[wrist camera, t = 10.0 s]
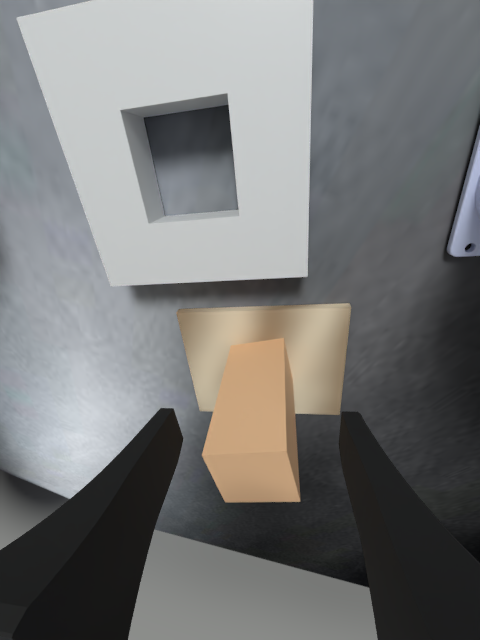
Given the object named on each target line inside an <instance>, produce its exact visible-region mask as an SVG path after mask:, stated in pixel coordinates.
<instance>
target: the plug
mask: <svg viewBox="0 0 480 640" xmlns="http://www.w3.org/2000/svg"><path fill="white" fill-rule="evenodd" d="M202 457H203V459H204V461H205V463H206V465H207V467H208V469H209V471H210V473H211V475H212V477H213V479H214V481H215V483H216V485H217V487H218V489H219V491H220V493H221V495H222V497H223V499H224V501H225V502H300V486H299V470H298V454H297V438H296V421H295V405H294V389H293V378H292V373H291V369H290V364H289V359H288V355H287V350H286V345H285V341H284V338H280V339H273V340H266V341H259V342H252V343H245V344H238V345H231V347H230V351H229V354H228V358H227V362H226V366H225V370H224V373H223V377H222V381H221V385H220V389H219V392H218V396H217V400H216V404H215V407H214V411H213V415H212V419H211V423H210V426H209V430H208V434H207V438H206V441H205V445H204V449H203V453H202Z"/></svg>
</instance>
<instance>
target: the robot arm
mask: <svg viewBox="0 0 480 640" xmlns="http://www.w3.org/2000/svg"><path fill="white" fill-rule="evenodd" d="M470 243H471V247H470V248H469V249H468V250H465V247H466V246H467V245H468V244H470ZM447 252H448V253H449V254H450V255H452V256H454V257H466V256H480V126H479V130H478V134H477V137H476V141H475V145H474V149H473V152H472V156H471V160H470V164H469V167H468V171H467V175H466V179H465V182H464V186H463V190H462V194H461V197H460V201H459V205H458V209H457V212H456V216H455V220H454V224H453V227H452V231H451V235H450V239H449V242H448V246H447ZM182 442H183V436H182V433H181V430H180V427H179V424H178V421H177V418H176V415H175V412H174V409H172V408H161V409H160V410H159V411H158V412H157V413H156V414H155V415H154V416H153V417H152V418H151V420H150V421H149V422H148V423H147V424H146V425H145V426H144V427H143V429H142V430H141V431H140V432H139V433H138V434H137V435H136V436H135V437H134V438H133V440H132V441H131V442H130V443H129V444H128V445H127V446H126V447H125V448H124V449H123V450H122V451H121V452H120V453H119V454H118V455H117V456H116V457H115V458H114V459H113V460H112V461H111V462H110V463H109V464H108V465H107V466H106V467H105V468H104V469H103V470H102V471H101V472H100V473H99V474H98V475H97V476H96V477H95V478H94V479H93V480H92V481H91V482H89V483H88V484H87V485H86V486H85V487H84V488H83V489H82V490H80V491H79V492H78V493H77V494H76V495H75V496H73V497H72V498H71V499H70V500H68V501H67V502H66V503H65V504H63V505H62V506H61V507H60V508H58V509H57V510H56V511H55V512H53V513H52V514H51V515H50V516H48V517H47V518H46V519H44V520H43V521H42V522H40V523H39V524H37V525H36V526H35V527H33V528H32V529H31V530H29V531H28V532H26V533H25V534H24V535H22V536H21V537H19V538H18V539H16V540H15V541H13V542H12V543H10V544H9V545H7V546H6V547H4V548H3V549H1V550H0V640H128V636H129V630H130V626H131V620H132V616H133V612H134V608H135V603H136V599H137V594H138V590H139V585H140V582H141V577H142V574H143V569H144V565H145V561H146V557H147V554H148V550H149V546H150V543H151V539H152V535H153V531H154V528H155V525H156V522H157V519H158V516H159V513H160V510H161V507H162V505H163V502H164V499H165V497H166V494H167V491H168V488H169V486H170V483H171V480H172V477H173V474H174V472H175V469H176V466H177V463H178V459H179V455H180V451H181V447H182ZM339 449H340V456H341V462H342V469H343V474H344V477H345V481H346V485H347V489H348V493H349V497H350V501H351V505H352V508H353V512H354V516H355V520H356V524H357V527H358V531H359V535H360V540H361V544H362V549H363V554H364V560H365V565H366V571H367V577H368V582H369V588H370V594H371V600H372V606H373V612H374V618H375V624H376V630H377V637H378V640H480V563H479V562H478V561H477V560H476V559H475V558H474V557H473V556H472V555H471V554H470V553H469V552H468V551H467V550H466V549H465V548H464V547H463V546H462V545H461V544H460V543H459V542H458V540H457V539H456V538H455V537H454V536H453V535H452V534H451V533H450V532H449V531H448V530H447V529H446V528H445V526H444V525H443V524H442V523H441V522H440V521H439V520H438V519H437V518H436V516H435V515H434V514H433V513H432V512H431V511H430V510H429V509H428V507H427V506H426V505H425V504H424V503H423V502H422V500H421V499H420V498H419V497H418V496H417V494H416V493H415V492H414V491H413V489H412V488H411V487H410V486H409V484H408V483H407V482H406V481H405V479H404V478H403V477H402V475H401V474H400V473H399V471H398V470H397V469H396V467H395V466H394V465H393V463H392V462H391V461H390V459H389V458H388V456H387V455H386V454H385V452H384V451H383V449H382V448H381V446H380V445H379V443H378V442H377V440H376V439H375V437H374V436H373V434H372V433H371V431H370V430H369V428H368V426H367V425H366V423H365V421H364V420H363V418H362V416H361V414H360V413H358V412H342V415H341V426H340V437H339Z"/></svg>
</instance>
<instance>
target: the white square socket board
mask: <svg viewBox="0 0 480 640" xmlns="http://www.w3.org/2000/svg"><path fill="white" fill-rule="evenodd" d="M17 21H18V24H19V27H20V30H21V33H22V35H23V38H24V41H25V44H26V47H27V50H28V52H29V55H30V58H31V61H32V64H33V67H34V69H35V72H36V75H37V78H38V81H39V84H40V87H41V89H42V92H43V95H44V98H45V101H46V104H47V106H48V109H49V112H50V115H51V118H52V121H53V123H54V126H55V129H56V132H57V135H58V138H59V140H60V143H61V146H62V149H63V152H64V155H65V157H66V160H67V163H68V166H69V169H70V172H71V175H72V177H73V180H74V183H75V186H76V189H77V192H78V194H79V197H80V200H81V203H82V206H83V209H84V211H85V214H86V217H87V220H88V223H89V226H90V228H91V231H92V234H93V237H94V240H95V243H96V245H97V248H98V251H99V254H100V257H101V260H102V262H103V265H104V268H105V271H106V274H107V277H108V280H109V282H110V285H111V286H129V285H149V284H170V283H190V282H211V281H231V280H251V279H272V278H292V277H307V276H308V227H309V179H310V130H311V82H312V34H313V0H92V1H87V2H83V3H79V4H74V5H70V6H66V7H61V8H57V9H53V10H48V11H44V12H39V13H35V14H31V15H26V16H22V17H18V18H17ZM224 105H229V114H230V125H231V135H232V146H233V156H234V166H235V177H236V187H237V198H238V208H239V209H238V210H227V211H216V212H205V213H194V214H183V215H171V216H165V214H164V209H163V204H162V200H161V195H160V191H159V186H158V182H157V177H156V173H155V168H154V164H153V159H152V154H151V150H150V145H149V141H148V136H147V132H146V127H145V123H144V118H145V117H151V116H158V115H165V114H171V113H178V112H184V111H191V110H198V109H204V108H211V107H218V106H224Z"/></svg>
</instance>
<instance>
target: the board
mask: <svg viewBox="0 0 480 640" xmlns="http://www.w3.org/2000/svg"><path fill="white" fill-rule="evenodd" d="M350 313H351V306H350V304H349V303H344V304H314V305H284V306H254V307H224V308H194V309H179V310H178V311H177V317H178V322H179V326H180V330H181V334H182V338H183V342H184V347H185V351H186V355H187V359H188V363H189V367H190V372H191V376H192V380H193V384H194V388H195V392H196V397H197V401H198V405H199V409H200V411H214V407H215V404H216V400H217V396H218V392H219V389H220V385H221V381H222V377H223V373H224V370H225V366H226V362H227V358H228V354H229V351H230V347H231V345H238V344H245V343H252V342H259V341H266V340H273V339H280V338H284V341H285V345H286V350H287V355H288V359H289V364H290V369H291V373H292V378H293V389H294V405H295V414H329V415H340V406H341V396H342V387H343V378H344V369H345V359H346V350H347V341H348V332H349V322H350Z"/></svg>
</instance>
